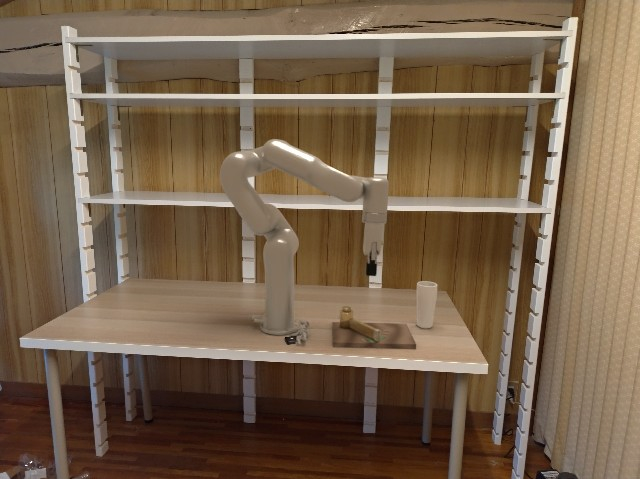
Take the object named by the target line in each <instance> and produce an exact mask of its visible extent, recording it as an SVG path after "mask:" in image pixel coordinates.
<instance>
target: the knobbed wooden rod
mask: <svg viewBox="0 0 640 479" xmlns="http://www.w3.org/2000/svg"><path fill="white" fill-rule="evenodd" d="M339 322H340V325H339V326H340V327H342V328H351V329H353V330H356V331H358V332H360V333H362V334H364V335H366V336H368V337H370V338H372V339H374V340H376V341H380V337H381V330H378V329H376V328H373V327H371V326H369V325H367V324H365V323H366V322H362V321H360V320H359V319H356V318H354V310H352V307H351V306H347V305H345V306H342V309H340V310H339Z"/></svg>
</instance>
